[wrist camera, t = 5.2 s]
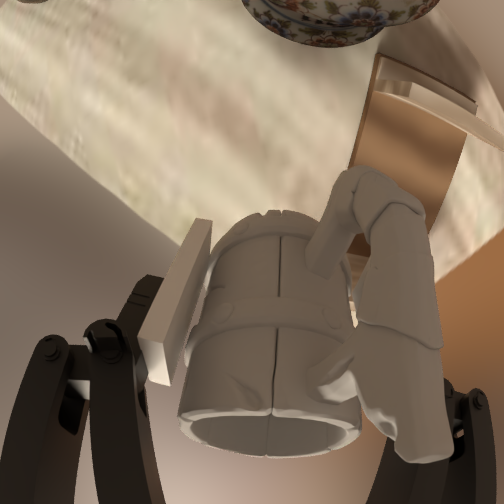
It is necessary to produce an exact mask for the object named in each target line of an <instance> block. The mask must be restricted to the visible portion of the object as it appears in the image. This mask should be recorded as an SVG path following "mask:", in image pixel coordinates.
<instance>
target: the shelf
mask: <svg viewBox="0 0 504 504" xmlns="http://www.w3.org/2000/svg"><path fill="white" fill-rule="evenodd" d="M475 102H476V101H474V100H473V99H471V98H469V97H468V96H466V95H465V94H463V93H461V92H460V91H458V90H456V89H455V88H453V87H451V86H449V85H448V84H446V83H444V82H442V81H440V80H439V79H437V78H435V77H433V76H431V75H429V74H427V73H425V72H423V71H421V70H419V69H417V68H414V67H412V66H410V65H408V64H406V63H403V62H401V61H399V60H396V59H394V58H391V57H389V56H386V55H384V54H381V53H380V54H376V55H375V61H374V65H373V70H372V75H371V80H370V84H369V89H368V93H367V97H366V102H365V106H364V110H363V114H362V118H361V122H360V126H359V130H358V133H357V137H356V141H355V145H354V148H353V152H352V155H351V159H350V162H349V166H348V169H347V170H349V169H350V168H352V167H354V166H358V165H366V166H370V167H373V168H375V169H376V170H378V171H380V172H382V173H383V174H385V175H386V176H388V177H389V178H391V179H392V180H394V181H395V182H396V183H397V185H398V187H399V188H401V189H403V190H405V191H406V192H408V193H410V194H411V195H413V196H415V197H416V198H417V199H418V200H419V201H420V202H421V203H422V205H423V207H424V210H425V214H426V218H425V225H426V229H427V233H428V234H429V231H430V229H431V227H432V225H433V223H434V221H435V219H436V216H437V214H438V212H439V210H440V207H441V205H442V203H443V200H444V198H445V195H446V193H447V191H448V188H449V185H450V183H451V180H452V178H453V175H454V172H455V170H456V167H457V164H458V161H459V158H460V155H461V152H462V149H463V146H464V143H465V139H466V136H467V133H468V134H470V135H472V136H474V137H476V138H478V139H480V140H482V141H484V142H486V143H488V144H490V145H492V146H494V147H495V148H497V149H499V150H501V151H503V152H504V135H502V134H501V133H500V132H498V131H497V130H495V129H494V128H493V127H491V126H490V125H488V124H487V123H485V122H484V121H482V120H481V119H479V118H478V117H476V112H477V107H478V105H476V104H475ZM346 255H347V258H348V260H349V263H350V267H351V273H352V292H353V290H354V288H355V286H356V284H357V282H358V280H359V278H360V276H361V274H362V272H363V270H364V268H365V266H366V264H367V261H368V259H369V257H370V255H371V246H370V245H369V244H368V243H367V241H366V238H365V235H364V233H360V234H356V235H355V237H354V239H353V241H352V243H351V245H350V247H349V248H348V250H347V252H346ZM352 292H351V295H350V297H349V303H350V309H351V311H356V310H355V306H354V301H353V297H352Z"/></svg>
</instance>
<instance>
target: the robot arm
mask: <svg viewBox="0 0 504 504" xmlns="http://www.w3.org/2000/svg"><path fill="white" fill-rule="evenodd" d="M18 1H19V2H22V3H42V2H45V1H47V0H18ZM212 222H213V221H211V220H205V219H200V218H196V219H195V221H194V223H193V224H192V226H191V228H190V230H189V232H188V234H187V236H186V237H185V239H184V241H183V243H182V245H181V247H180V249H179V251H178V253H177V255H176V257H175V259H174V261H173V262H172V264H171V266H170V268H169V270H168V272H167V274H166V276H165V278H161V277H156V276H152V275H148V274H147V275H146V276H145V277H143V278H142V279H141V280H140V281H138V282H137V284H136V285H135V287H134V289H133V291H132V294H131V295H130V296H129V298H128V300H127V303H125V305H124V307H123V309H122V310H121V312H120V314H119V316H118V318H117V320H116V321H115V320H112V319H101V320H97V321H95V322H94V323H92V324H90V325H89V327H88V328H87V329H86V330H85V333H84V336H83V339H84V341H85V343H86V345H68V343H67V341H66V340H65V339H64V338H63V337H61V336H59V335H48V336H45V337H44V338H43V339H41V340H40V341H39V343H38V344H37V345H36V347H35V350H34V352H33V354H32V357H31V359H30V361H29V364H28V367H27V369H26V372H25V374H24V377H23V380H22V382H21V385H20V388H19V391H18V394H17V397H16V400H15V403H14V407H13V410H12V413H11V417H10V420H9V424H8V428H7V432H6V436H5V440H4V445H3V450H2V455H1V460H0V504H74V495H75V485H76V477H77V470H78V463H79V457H80V451H81V445H82V440H83V435H84V430H85V425H86V420H87V416H88V411H90V436H91V450H92V460H93V469H94V477H95V484H96V489H97V496H98V501H99V504H166V503H165V499H164V495H163V491H162V487H161V482H160V478H159V473H158V469H157V463H156V458H155V452H154V447H153V441H152V435H151V428H150V421H149V414H148V406H147V397H146V389H145V386H144V384H145V382H146V379H147V376H149V379H150V381H152V382H156V383H160V384H163V385H168V386H171V384H172V380H173V377H174V373H175V370H176V367H177V364H178V361H179V357H180V354H181V351H182V348H183V344H184V341H185V338H186V335H187V332H188V329H189V325H190V322H191V319H192V316H193V313H194V310H195V307H196V304H197V301H198V298H199V295H200V292H201V289H202V286H203V283H204V280H205V277H206V274H207V271H208V265H209V257H210V245H211V233H212ZM370 259H371V255H370V257H369V259H368V261H367V264H366V266H365V268H364V270H363V272H362V274H361V276H360V278H359V280H358V282H357V284H356V286H355V288H354V290H353V292H352V297H353V301H354V306H355V310H356V313H357V310H358V307H359V304H360V300H361V296H362V290H363V284H364V280H365V276H366V272H367V271H368V270H369V269H370ZM358 323H359V320H358ZM443 379H444V396H445V406H446V412H447V417H448V421H449V426H450V430H451V435H452V439H453V444H454V452H453V454H452V455H451V456H450V457H448V458H446V459H442V460H438V461H434V462H430V463H409V462H406V461H405V460H403V459H402V458H401V457H400V456H399V455H398V454H397V453H396V452H395V447H394V443H395V441H394V440H393V439H391V438H390V437H387V441H386V444H385V448H384V452H383V455H382V458H381V462H380V465H379V468H378V471H377V474H376V477H375V480H374V483H373V486H372V489H371V491H370V494H369V497H368V500H367V502H366V504H496V459H495V445H494V436H493V429H492V422H491V415H490V410H489V405H488V400H487V397H486V395H485V394H484V392H483V391H481V390H480V389H477V388H475V389H472V390H471V391H470V392H469V393H467V394H463V393H460V392H456V391H454V388H453V386H452V384H451V383H450V382H449V381H448V380H447V379H445V378H443ZM462 429H463V430H464V435H463V436H461V437H459V438H458V437H457V434H456V433H458V432H459V431H461V430H462Z"/></svg>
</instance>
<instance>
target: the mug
mask: <svg viewBox="0 0 504 504" xmlns="http://www.w3.org/2000/svg"><path fill="white" fill-rule="evenodd" d="M425 218H426V214H425V210H424V207H423V205H422V203H421V202H420V201H419V200H418V199H417V198H416V197H415V196H413V195H411V194H410V193H408V192H406V191H405V190H403V189H401V188H399V187H398V185H397V183H396V182H395V181H394V180H392V179H391V178H389V177H388V176H386V175H385V174H383V173H382V172H380V171H378V170H376V169H375V168H373V167H370V166H366V165H358V166H354V167H352V168H350V169H349V170H345V171H343V172H342V173H341V174H340V175H339V177H338V179H337V180H336V182H335V184H334V186H333V188H332V191H331V195H330V198H329V201H328V204H327V206H326V209H325V211H324V214H323V216H322V218H321V220H320V222H318V221H317V220H315V219H313V218H311V217H309V216H307V215H304V214H302V213H299V212H294V211H289V210H283V212H282V213H281V211H280V210H268V212H267V213H266V214H265V215H264V216H262V215H261V214H260V213H255V214H252V215H249V216H247V217H245V218H243V219H242V220H240V221H239V222H237V223H236V224H235V225H234V226H233V227H232V228H231V229H230V230H229V231H228V232H227V233H226V234H225V235H224V236H223V237H222V238H221V239H220V240H219V241H218V242H217V244H216V245H215V246H214V248H213V250H212V252H211V254H210V257H209V265H208V271H207V274H206V277H205V280H204V286H205V289H206V297H205V298H204V303H203V307H202V311H201V316H200V319H199V323H198V324H197V325H195V326H194V327H193V328H192V330H191V332H190V335H189V338H188V341H187V344H186V347H185V356H184V361H185V364H186V366H187V373H186V377H185V382H184V386H183V391H182V396H181V400H180V404H179V409H178V415H177V417H178V421H179V425H180V429H181V430H182V431H183V432H184V434H186V435H187V437H189V438H190V439H192V440H194V441H197V442H200V443H201V444H204V445H205V446H208V447H211V448H216V449H220V450H225V451H230V452H234V453H239V454H243V455H247V456H252V457H264V456H265V455H267V457H268V458H293V457H306V456H314V455H320V454H324V453H327V452H330V451H331V449H340V448H341V447H343V446H346V445H348V444H349V443H351V442H353V441H354V440H355V439H356V438H357V437H358V436H359V435H360V433H361V430H362V414H361V406H362V408H363V410H364V412H365V414H366V416H367V418H368V419H369V420H370V421H371V422H372V423H373V424H374V425H375V426H376V427H377V428H378V429H379V430H380V431H381V432H382V433H383V434H384V435H386V436H388V437H390V438H391V439H393V440H394V441H395V443H394V447H395V452H396V453H397V454H398V455H399V456H400V457H401V458H402V459H403V460H405V461H406V462H409V463H430V462H434V461H438V460H442V459H446V458H448V457H450V456H451V455H452V454H453V452H454V444H453V439H452V435H451V430H450V426H449V421H448V417H447V412H446V406H445V396H444V379H443V369H442V362H441V356H440V350H439V349H440V348H442V347H443V346H444V344H443V338H442V331H441V324H440V318H439V311H438V305H437V299H436V292H435V283H434V261H433V256H431V249H430V243H429V238H428V233H427V229H426V225H425ZM360 233H364V235H365V238H366V241H367V243H368V244H369V245H370V246H371V259H370V269H369V270H368V271H367V272H366V276H365V280H364V284H363V290H362V296H361V300H360V304H359V307H358V310H357V313H356V318H357V319H358V320H359V323H358V325H357V327H356V328H355V327H354V326H353V320H352V316H351V309H350V303H349V297H350V295H351V292H352V273H351V267H350V263H349V260H348V258H347V255H346V252H347V250H348V248H349V247H350V245H351V243H352V241H353V239H354V237H355V235H356V234H360Z"/></svg>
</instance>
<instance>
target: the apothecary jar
mask: <svg viewBox="0 0 504 504" xmlns="http://www.w3.org/2000/svg"><path fill="white" fill-rule="evenodd" d="M439 1H440V0H242V2H243V4H244V6H245V8H246V9H247V10H248V11H249V13H250V14H251V15H252V16H253V17H254V18H255V19H256V20H257V21H258V22H259V23H261V24H262V25H263V26H265V27H266V28H267V29H269V30H270V31H272V32H274V33H276V34H278V35H280V36H282V37H284V38H286V39H289V40H292V41H294V42H298V43H301V44H305V45H309V46H315V47H325V48H337V47H345V46H351V45H355V44H358V43H361V42H364V41H366V40H368V39H370V38H372V37H374V36H375V35H376V34H378V33H379V32H380V31H381V30H382V29H383V28H384V27H388V26H395V25H400V24H404V23H408V22H410V21H413V20H416V19H418V18H420V17H421V16H423V15H425V14H426V13H428V12H429V11H430V10H432V9H433V8H434V7H435V6H436V5H437V3H438V2H439Z"/></svg>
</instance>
